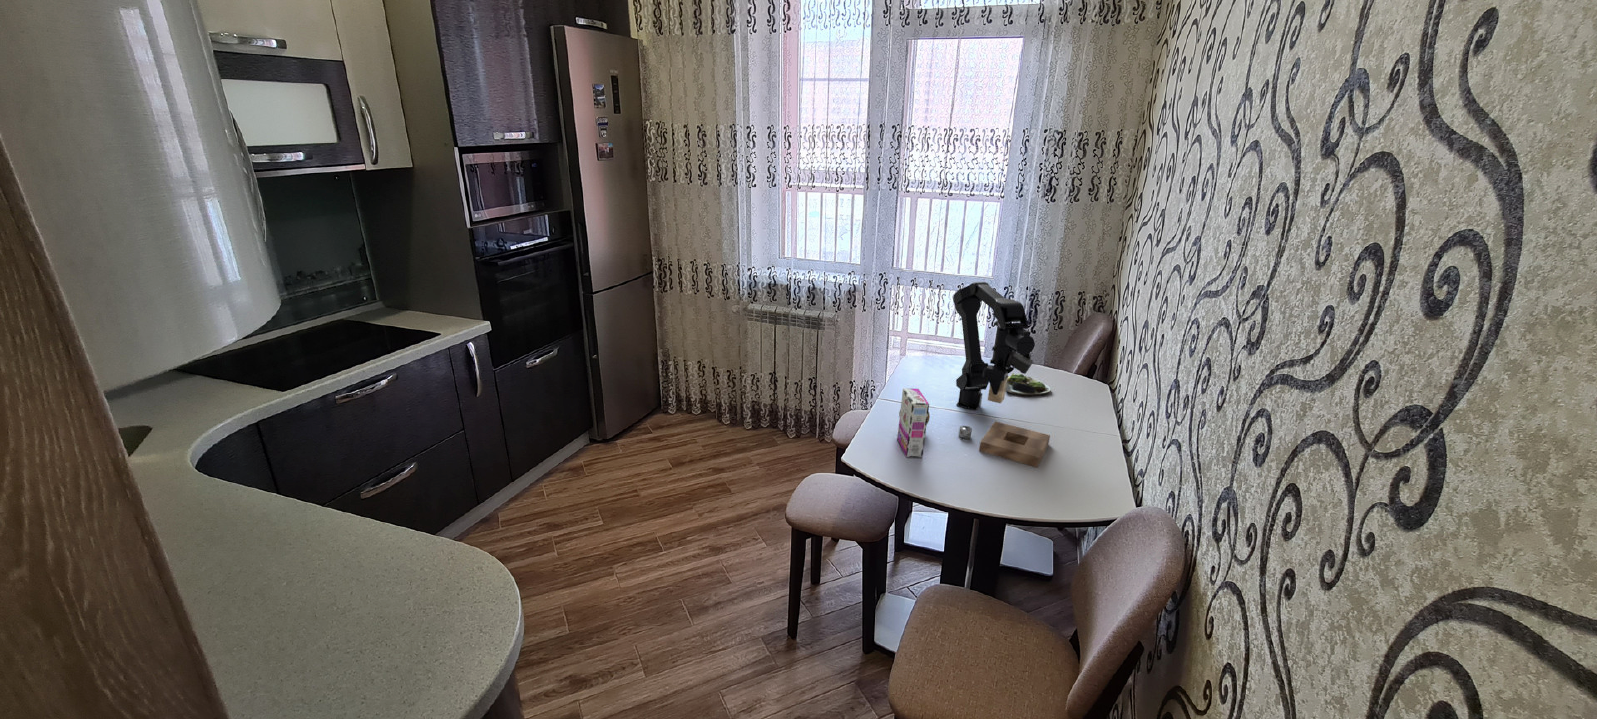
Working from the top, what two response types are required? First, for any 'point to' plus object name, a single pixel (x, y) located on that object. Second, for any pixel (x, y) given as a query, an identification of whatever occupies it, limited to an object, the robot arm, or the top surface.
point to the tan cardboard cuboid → (1000, 395)
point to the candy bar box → (913, 422)
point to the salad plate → (1026, 386)
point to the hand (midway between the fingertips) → (997, 392)
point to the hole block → (1015, 443)
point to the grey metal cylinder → (965, 432)
